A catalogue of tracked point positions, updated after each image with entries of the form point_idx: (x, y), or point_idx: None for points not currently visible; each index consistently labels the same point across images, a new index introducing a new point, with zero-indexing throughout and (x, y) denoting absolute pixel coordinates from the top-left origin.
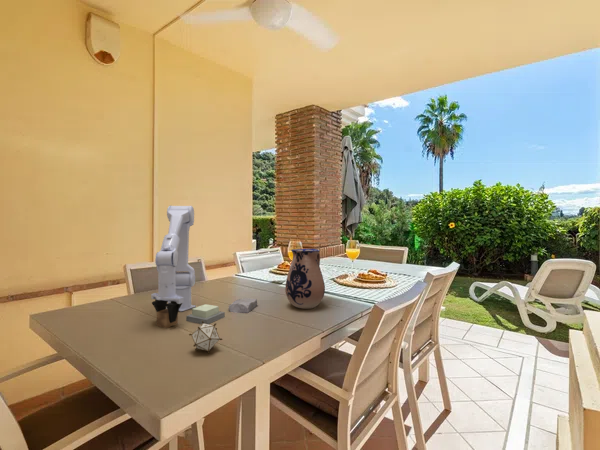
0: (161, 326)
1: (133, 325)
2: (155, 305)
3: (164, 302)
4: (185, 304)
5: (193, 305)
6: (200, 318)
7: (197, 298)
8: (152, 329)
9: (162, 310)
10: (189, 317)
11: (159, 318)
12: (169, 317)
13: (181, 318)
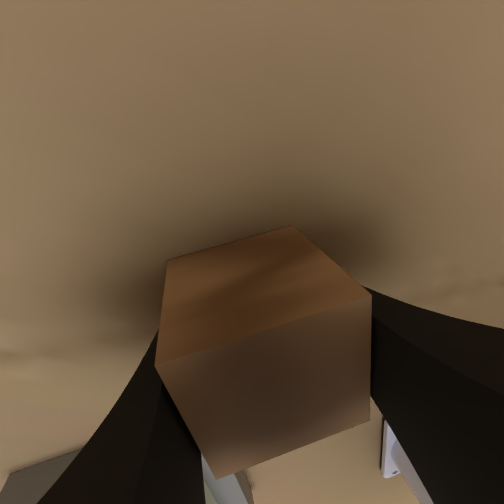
0: (232, 243)
1: (476, 84)
2: (499, 366)
3: (454, 496)
4: (414, 469)
5: (397, 471)
6: None
7: None
8: (229, 154)
9: (357, 364)
10: None
11: (280, 270)
12: None
13: None
